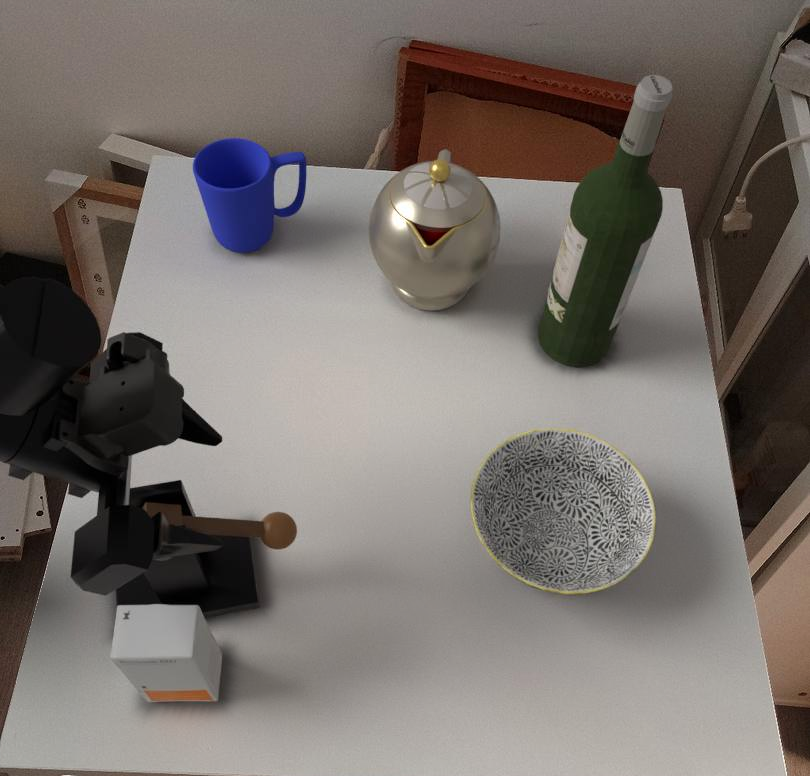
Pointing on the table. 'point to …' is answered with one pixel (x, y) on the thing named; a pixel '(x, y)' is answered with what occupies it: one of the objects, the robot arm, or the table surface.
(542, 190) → the table surface
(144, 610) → the cosmetic box
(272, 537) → the lever
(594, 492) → the bowl
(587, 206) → the wine bottle
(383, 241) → the teapot
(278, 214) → the mug
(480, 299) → the table surface
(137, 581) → the bracket
